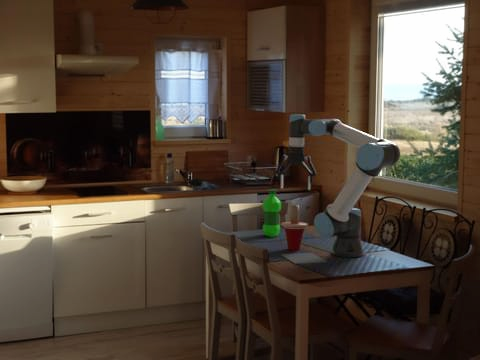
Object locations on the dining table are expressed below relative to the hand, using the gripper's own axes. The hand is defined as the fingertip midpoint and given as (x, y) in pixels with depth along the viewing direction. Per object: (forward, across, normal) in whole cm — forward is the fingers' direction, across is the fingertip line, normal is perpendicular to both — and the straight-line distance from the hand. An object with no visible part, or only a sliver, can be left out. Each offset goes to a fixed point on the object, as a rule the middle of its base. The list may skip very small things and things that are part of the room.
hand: (295, 188), depth 381 cm
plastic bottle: (+31, +17, -28) cm, 45 cm away
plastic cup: (+31, 0, 0) cm, 31 cm away
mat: (+30, -8, +18) cm, 36 cm away
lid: (+18, 0, 0) cm, 19 cm away
